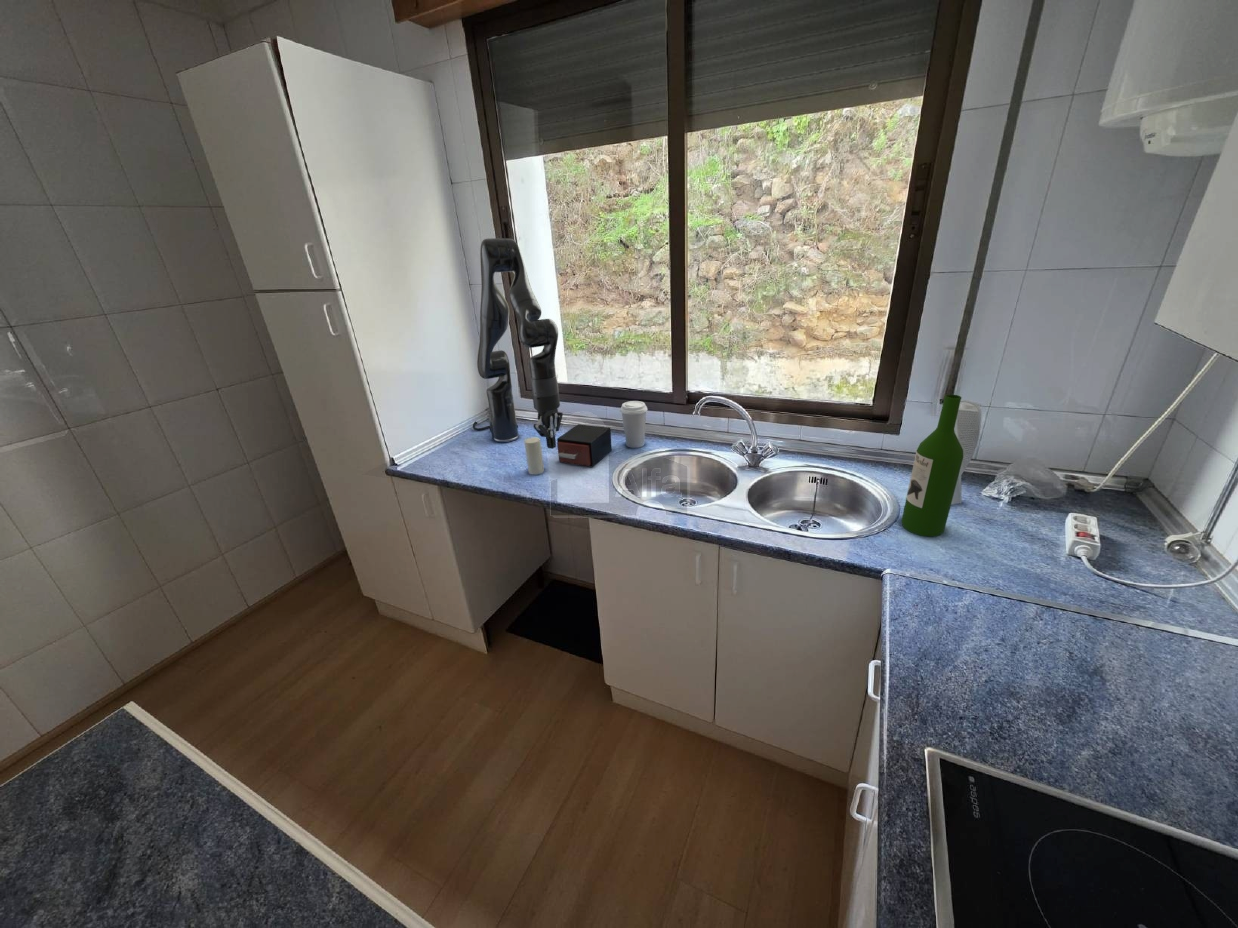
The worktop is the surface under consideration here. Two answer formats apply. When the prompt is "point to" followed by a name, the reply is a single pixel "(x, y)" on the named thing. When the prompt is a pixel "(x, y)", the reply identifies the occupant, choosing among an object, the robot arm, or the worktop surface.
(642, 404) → the coffee cup
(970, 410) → the light grey vase
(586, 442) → the black sliding tray box
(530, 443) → the container
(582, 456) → the drawer
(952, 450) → the wine bottle
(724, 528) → the worktop surface
